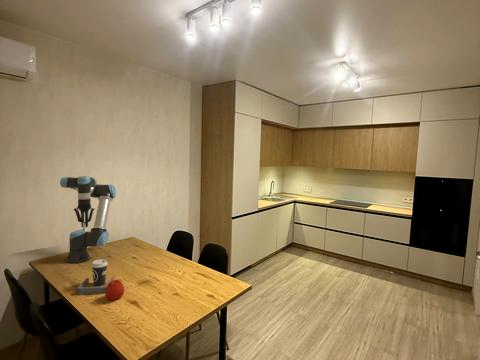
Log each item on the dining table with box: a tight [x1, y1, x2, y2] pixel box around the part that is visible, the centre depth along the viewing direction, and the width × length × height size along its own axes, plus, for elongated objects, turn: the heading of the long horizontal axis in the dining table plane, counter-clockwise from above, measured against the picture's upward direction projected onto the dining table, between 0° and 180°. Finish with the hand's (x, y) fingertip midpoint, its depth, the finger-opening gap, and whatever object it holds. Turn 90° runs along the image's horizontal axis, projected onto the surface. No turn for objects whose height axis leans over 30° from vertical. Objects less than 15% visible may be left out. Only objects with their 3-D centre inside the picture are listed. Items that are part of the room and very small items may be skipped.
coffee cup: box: [90, 258, 109, 287], centre depth 169 cm, size 10×10×15 cm
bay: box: [76, 276, 115, 295], centre depth 164 cm, size 14×16×4 cm
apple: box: [104, 279, 125, 301], centre depth 154 cm, size 10×10×10 cm
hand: (84, 231), depth 184 cm, fingers closed
